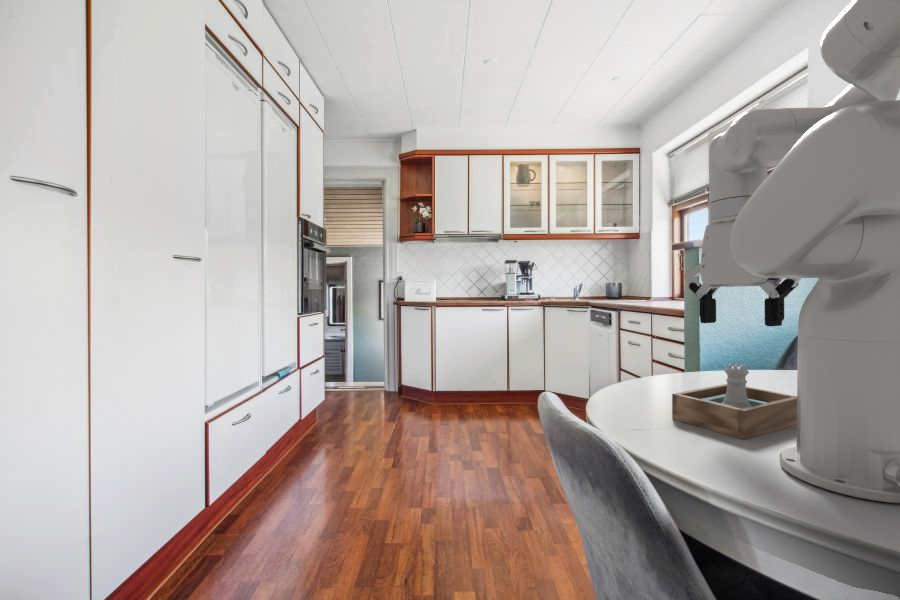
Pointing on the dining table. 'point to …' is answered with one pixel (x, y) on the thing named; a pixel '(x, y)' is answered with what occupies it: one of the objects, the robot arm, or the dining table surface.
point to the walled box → (735, 411)
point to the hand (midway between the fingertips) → (738, 324)
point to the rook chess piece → (736, 386)
